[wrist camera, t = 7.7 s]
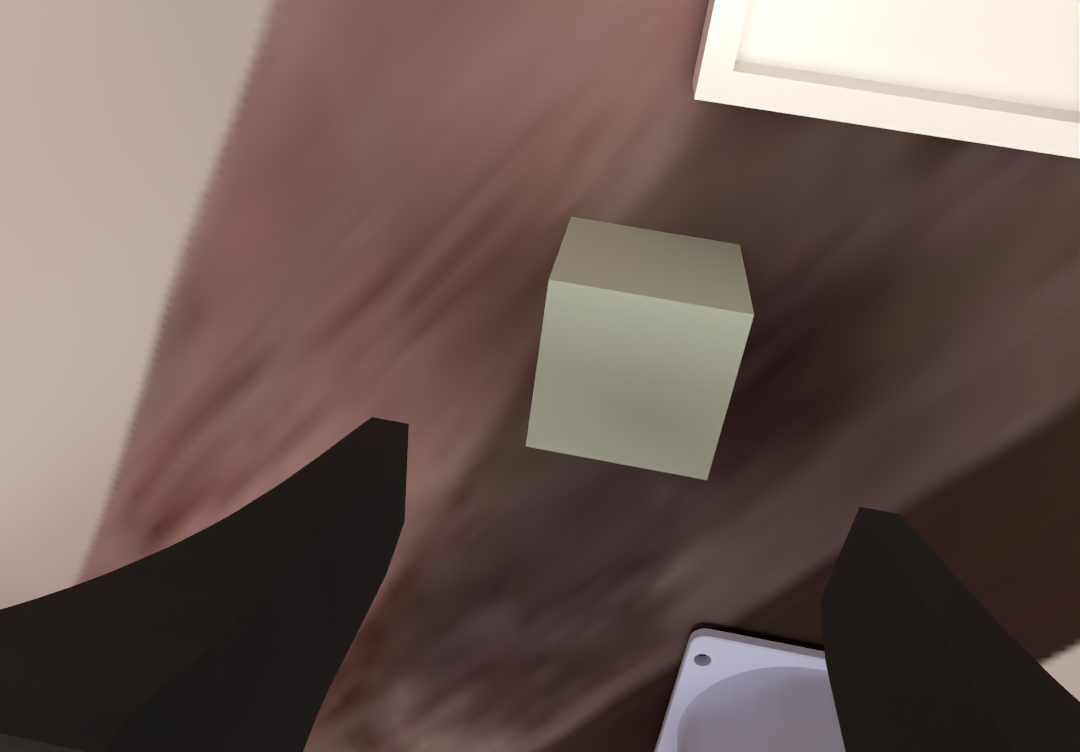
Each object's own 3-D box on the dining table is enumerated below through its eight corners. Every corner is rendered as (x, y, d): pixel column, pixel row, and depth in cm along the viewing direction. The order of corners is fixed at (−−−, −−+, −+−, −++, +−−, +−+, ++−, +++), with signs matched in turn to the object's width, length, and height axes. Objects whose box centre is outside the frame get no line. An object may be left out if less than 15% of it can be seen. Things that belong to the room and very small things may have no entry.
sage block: (701, 388, 21) (706, 480, 17) (550, 361, 21) (525, 446, 18) (739, 243, 19) (754, 314, 15) (571, 215, 19) (548, 279, 16)
